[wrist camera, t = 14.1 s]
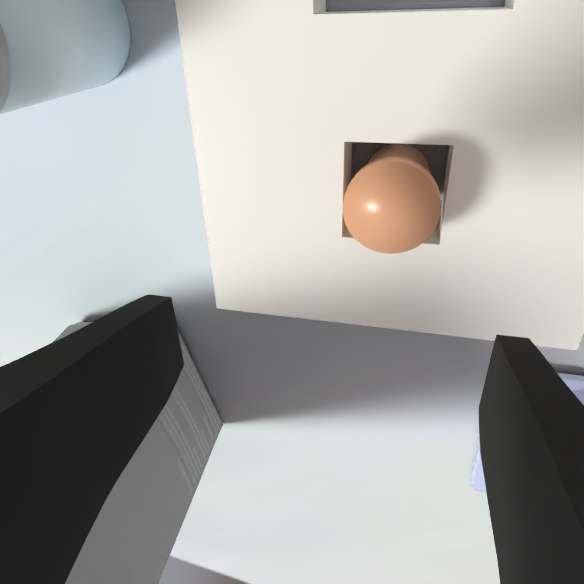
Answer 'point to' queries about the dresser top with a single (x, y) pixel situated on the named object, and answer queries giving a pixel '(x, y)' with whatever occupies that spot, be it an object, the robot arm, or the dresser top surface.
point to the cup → (59, 48)
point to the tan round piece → (393, 201)
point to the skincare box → (151, 488)
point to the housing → (393, 129)
